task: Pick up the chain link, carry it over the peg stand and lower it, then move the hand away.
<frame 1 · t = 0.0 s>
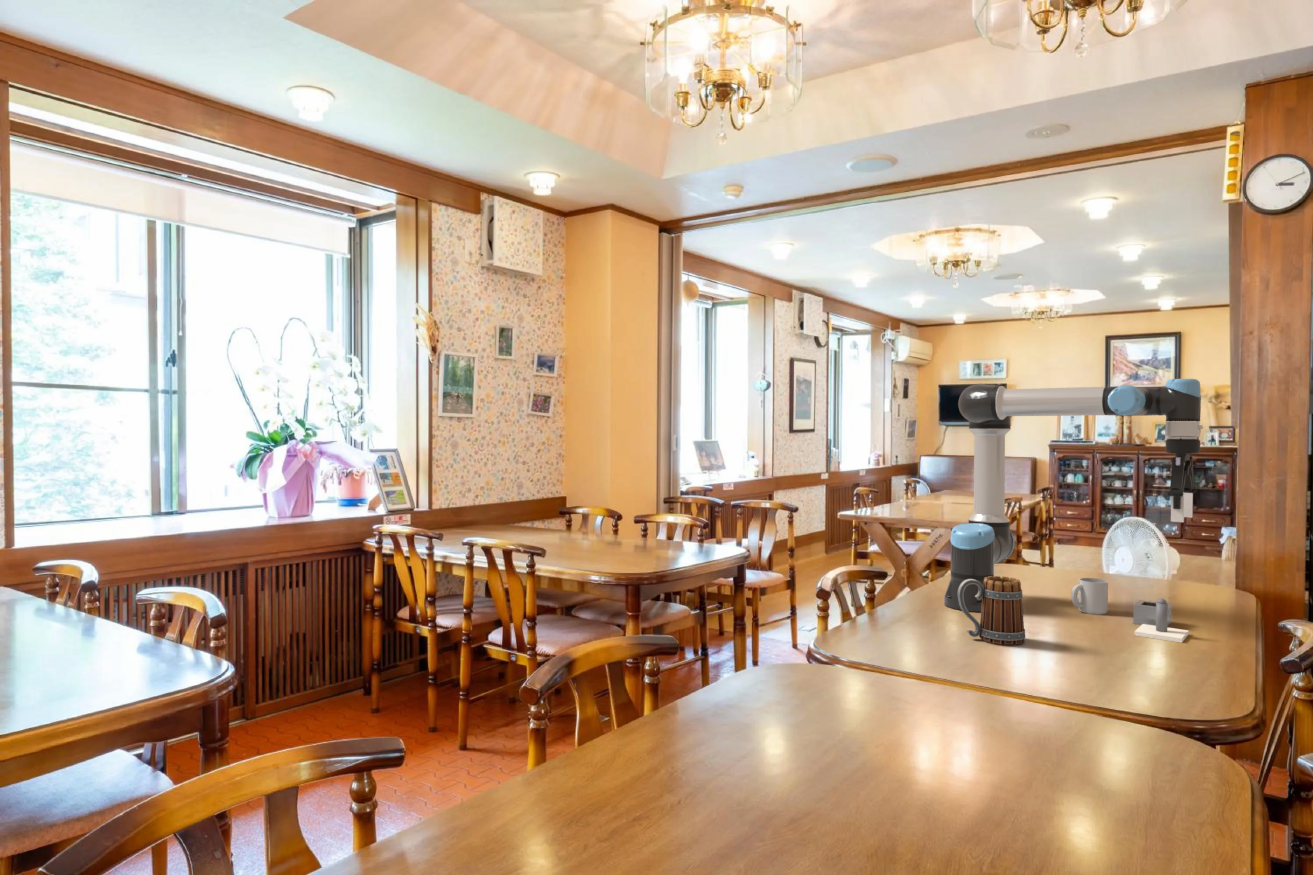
hand: (1181, 519, 206), 28 cm above the table, fingers open, 13 cm apart
cup: (1088, 612, 223), on the table
peg stand: (1161, 634, 198), on the table
mug: (991, 640, 194), on the table
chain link: (1152, 623, 210), on the table
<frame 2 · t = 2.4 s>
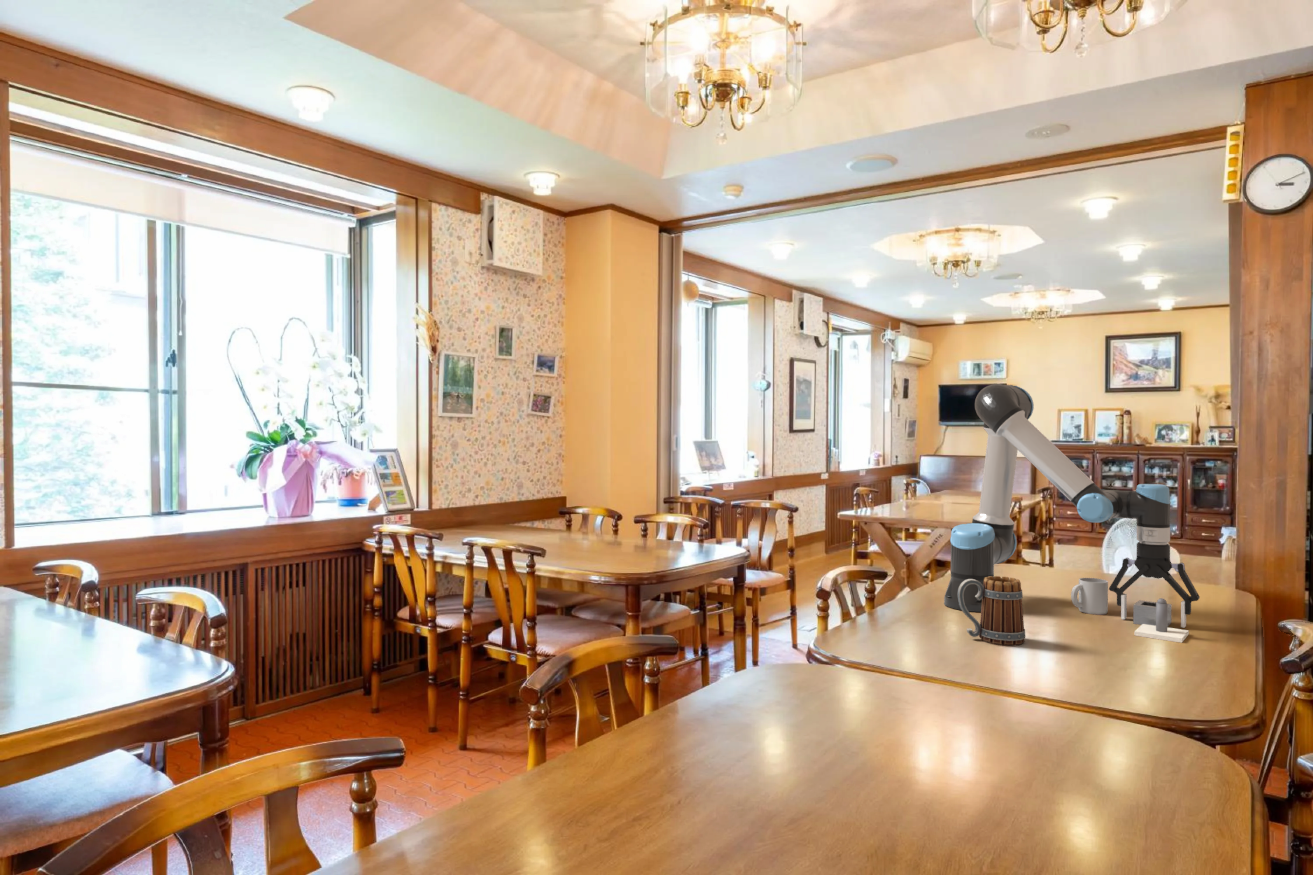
hand: (1153, 622, 210), 0 cm above the table, fingers open, 13 cm apart
nothing on the table moved.
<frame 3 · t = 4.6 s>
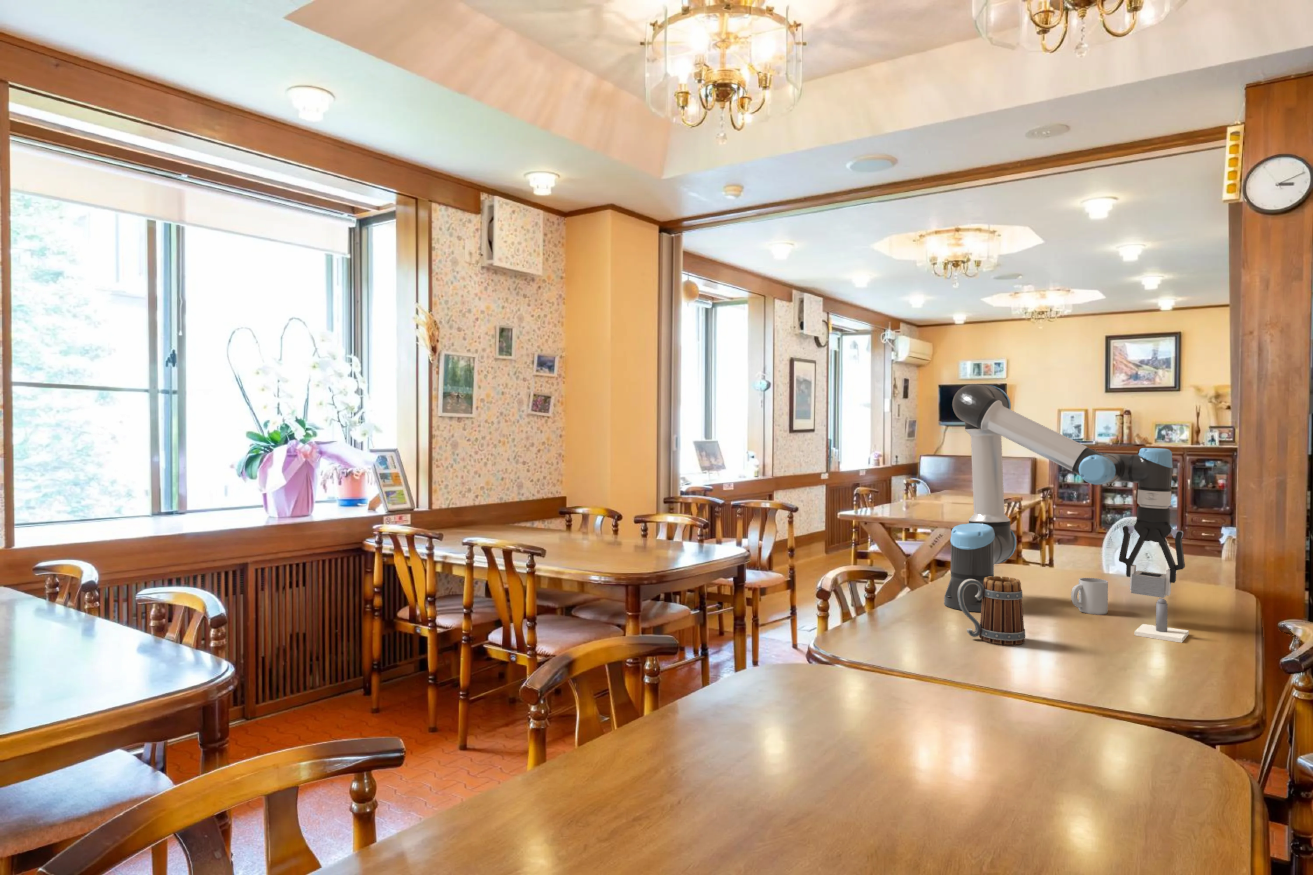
hand: (1149, 591, 210), 8 cm above the table, fingers closed on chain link, 7 cm apart
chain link: (1149, 593, 210), point 8 cm above the table, touching gripper
everything else where it was.
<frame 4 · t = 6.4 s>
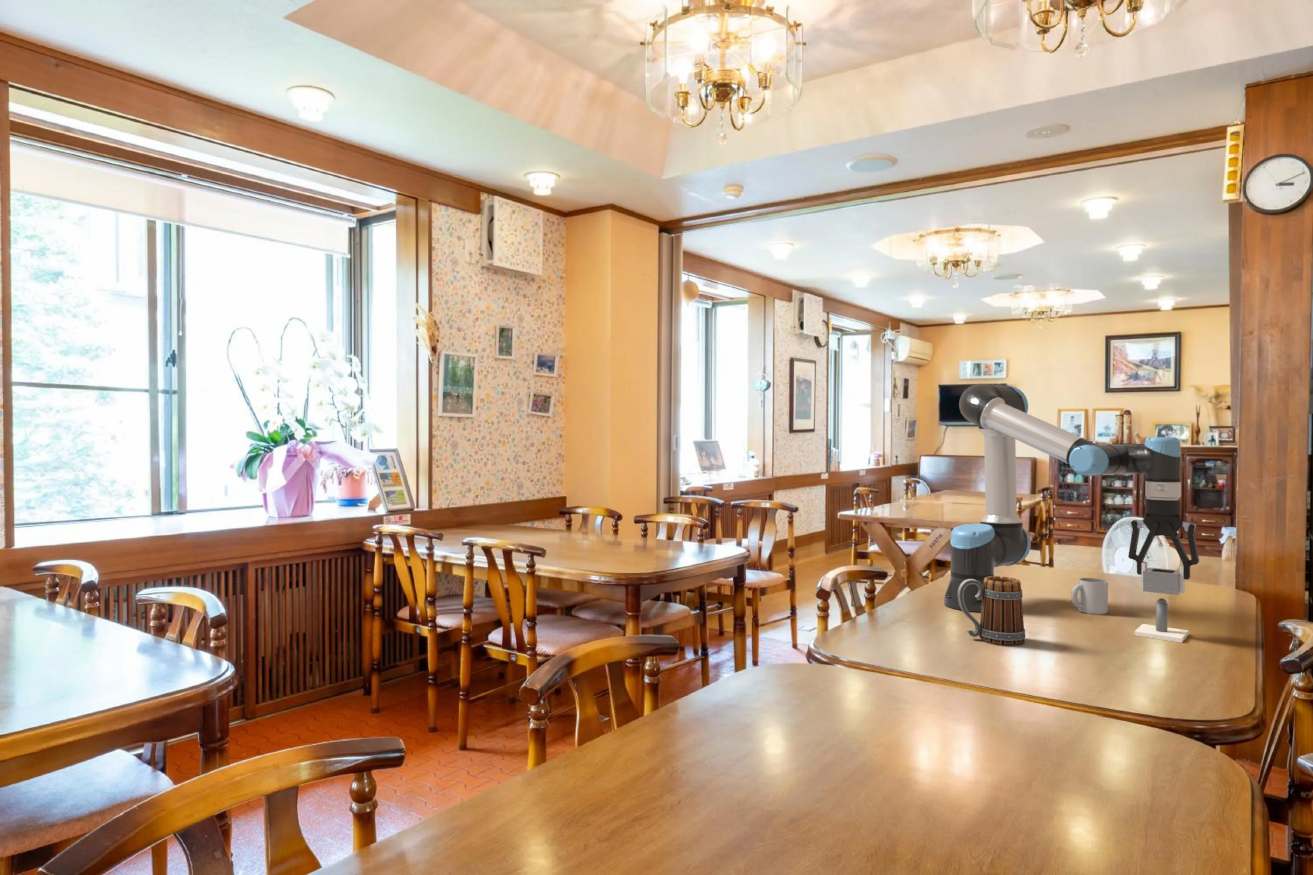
hand: (1163, 589, 198), 11 cm above the table, fingers closed on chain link, 7 cm apart
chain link: (1163, 590, 198), point 11 cm above the table, touching gripper
everything else where it was.
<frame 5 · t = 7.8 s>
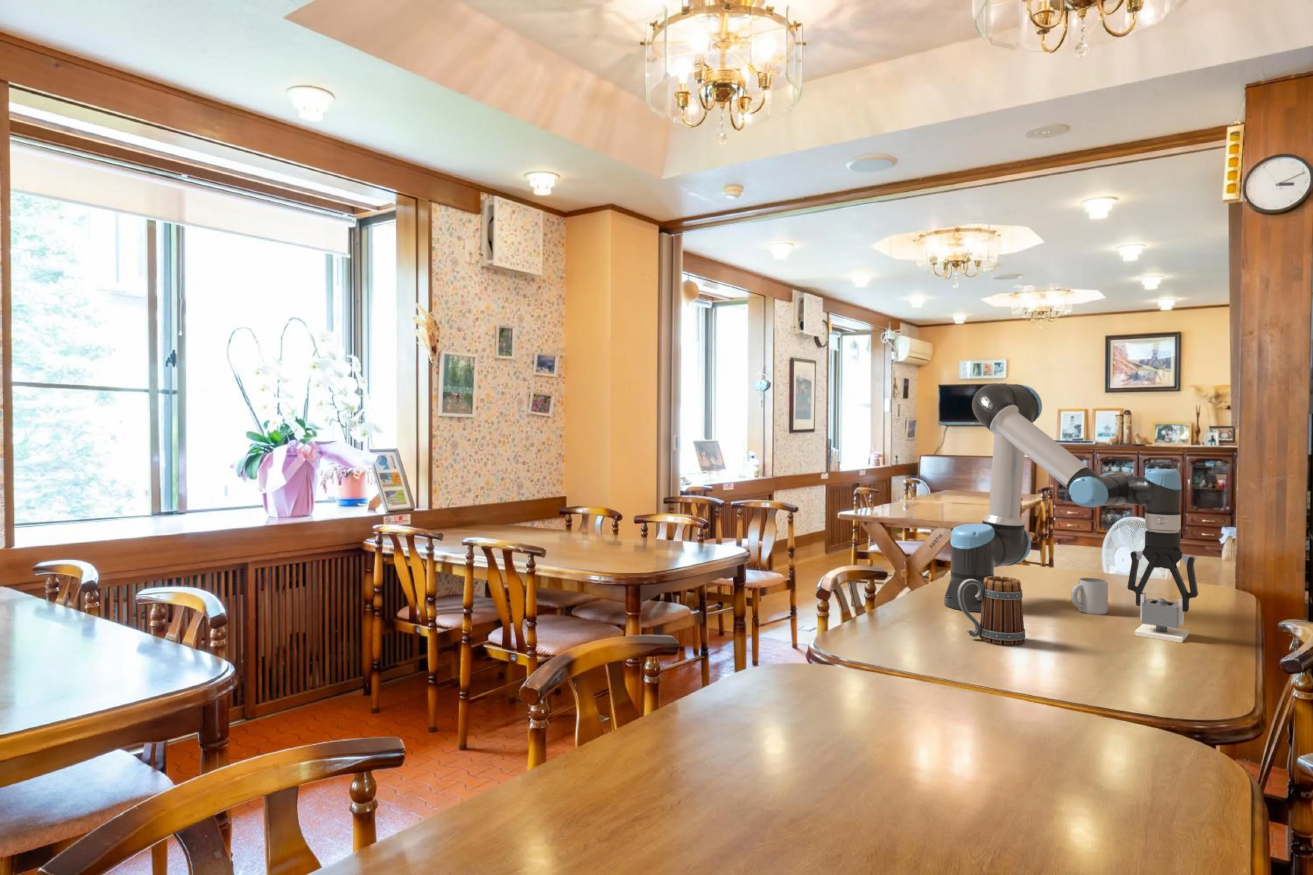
hand: (1161, 621, 198), 3 cm above the table, fingers closed on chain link, 7 cm apart
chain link: (1161, 622, 198), point 3 cm above the table, touching gripper
everything else where it was.
when the fingers open (3 cm above the table, at t = 8.6 s): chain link drops 2 cm, resting on peg stand.
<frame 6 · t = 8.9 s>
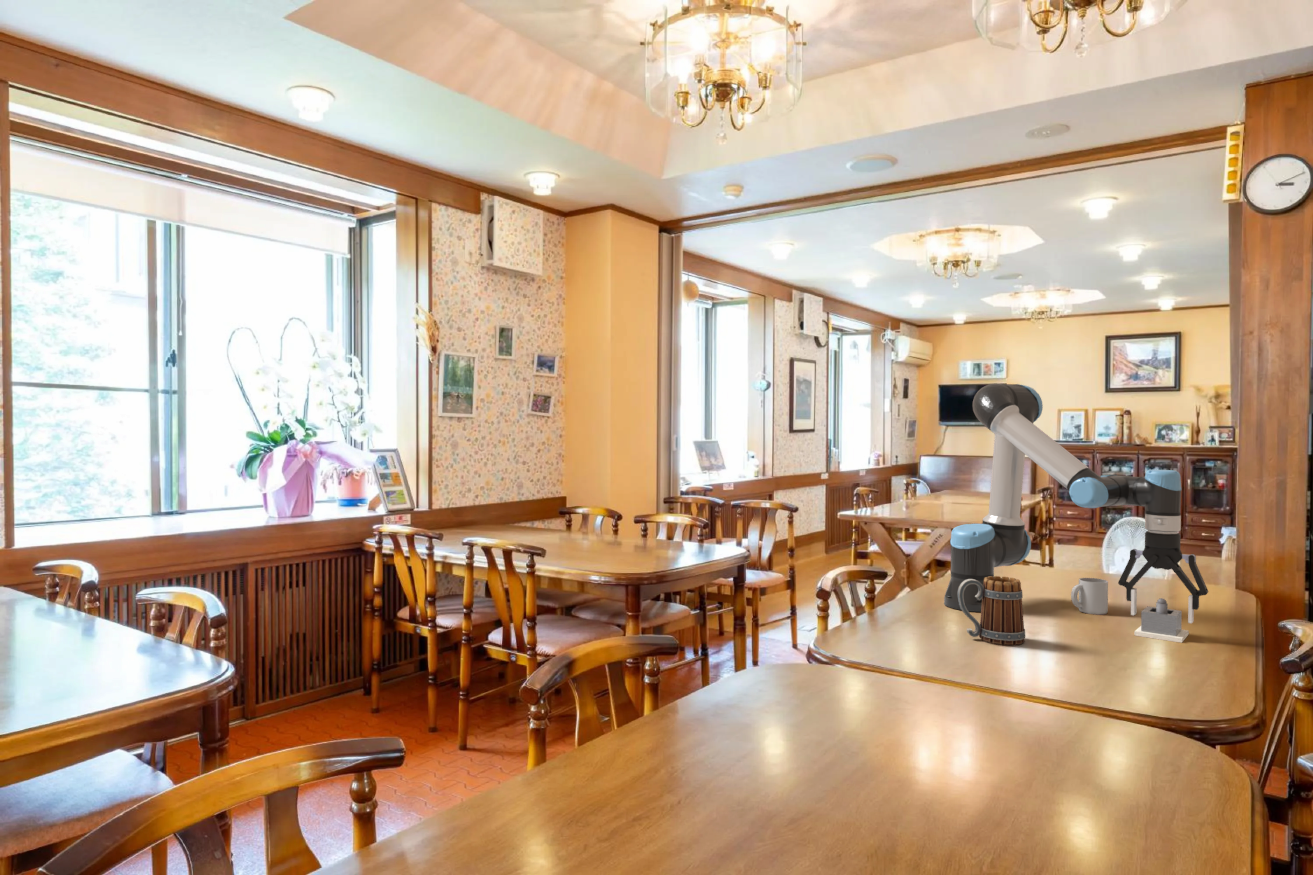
hand: (1161, 618, 198), 4 cm above the table, fingers open, 11 cm apart
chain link: (1161, 630, 198), point 1 cm above the table, touching peg stand
everything else where it was.
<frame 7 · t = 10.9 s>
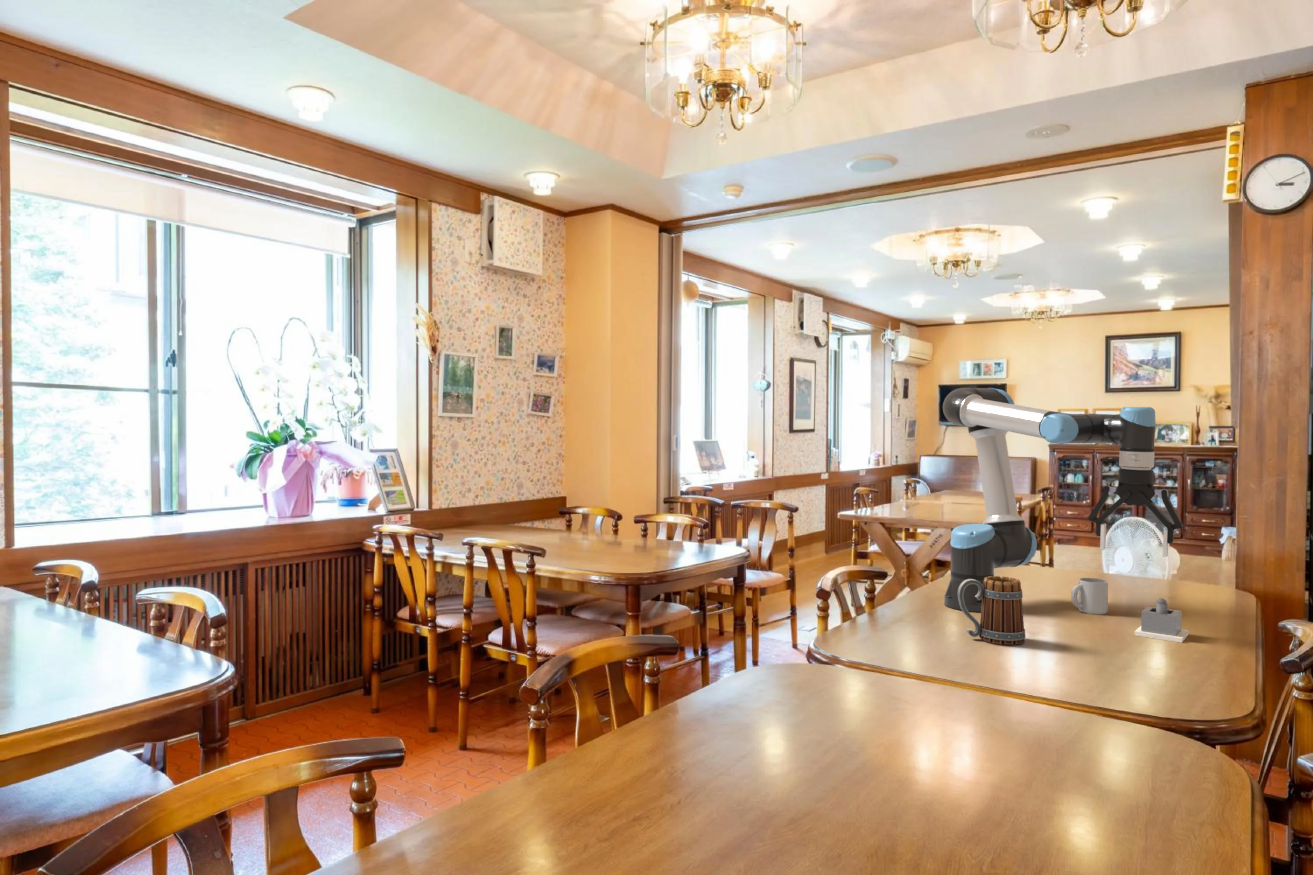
hand: (1133, 552, 199), 21 cm above the table, fingers open, 13 cm apart
nothing on the table moved.
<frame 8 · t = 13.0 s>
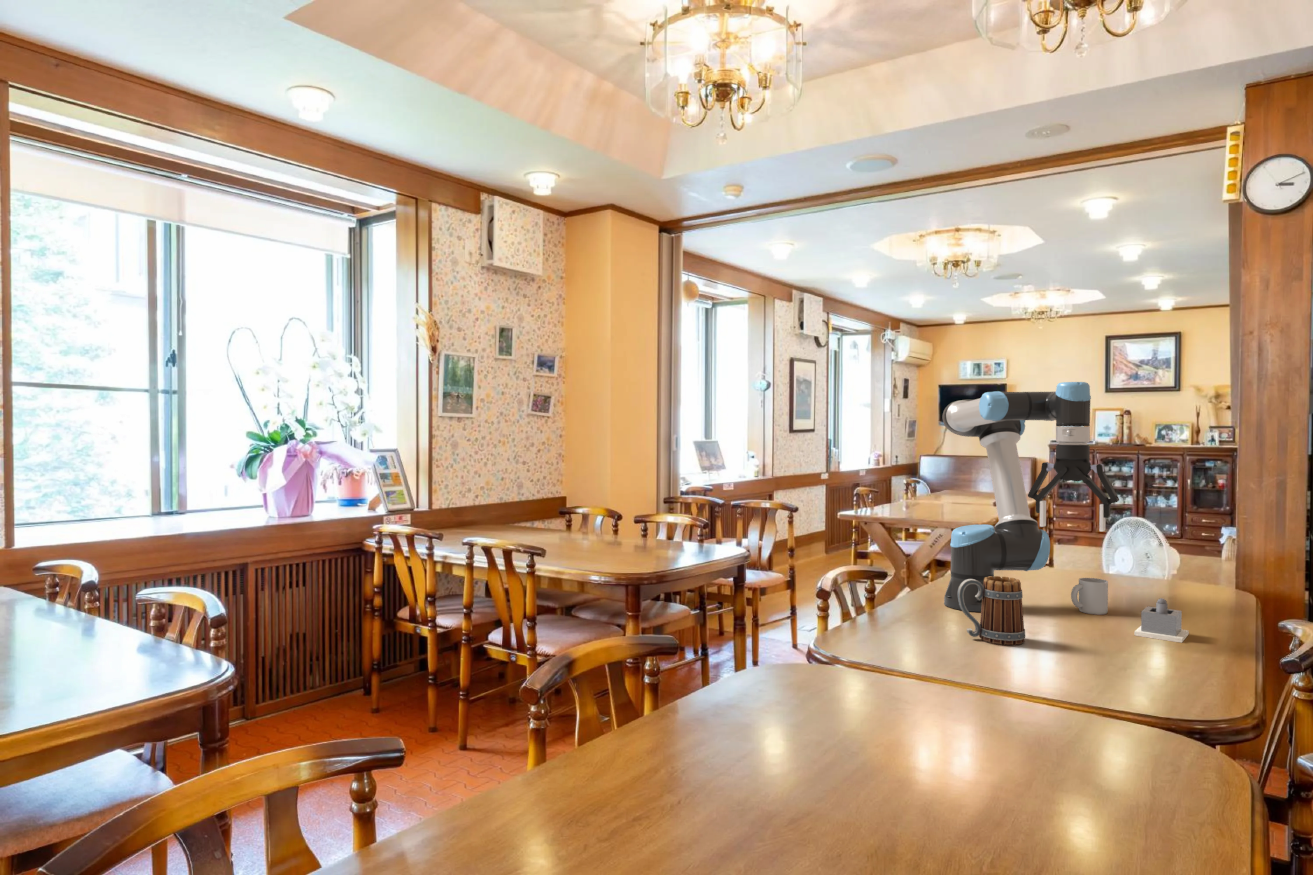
hand: (1071, 528, 198), 27 cm above the table, fingers open, 13 cm apart
nothing on the table moved.
at the end: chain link 0.1 cm off-centre on the peg stand, point 1.0 cm above the peg stand's base; the gripper is holding nothing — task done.
